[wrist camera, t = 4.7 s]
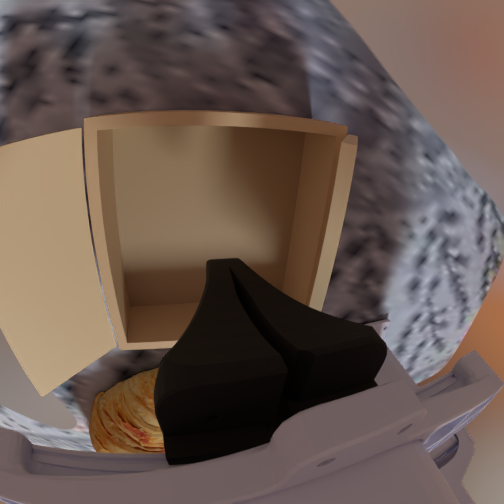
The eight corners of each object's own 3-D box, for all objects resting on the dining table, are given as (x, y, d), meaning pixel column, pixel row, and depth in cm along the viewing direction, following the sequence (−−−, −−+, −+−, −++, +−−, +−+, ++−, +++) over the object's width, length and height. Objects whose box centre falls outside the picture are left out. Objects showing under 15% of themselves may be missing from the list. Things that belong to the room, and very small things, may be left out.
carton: (285, 296, 22) (305, 332, 19) (124, 308, 19) (119, 350, 16) (312, 118, 16) (348, 126, 13) (104, 114, 13) (83, 118, 10)
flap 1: (41, 397, 11) (38, 391, 11) (116, 346, 16) (111, 341, 16) (-49, 163, 5) (-48, 162, 5) (81, 127, 10) (76, 127, 10)
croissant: (147, 314, 24) (98, 361, 16) (242, 379, 24) (223, 444, 17) (93, 420, 30) (63, 457, 22) (156, 463, 30) (135, 505, 22)
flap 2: (307, 328, 19) (314, 330, 19) (283, 398, 14) (292, 401, 14) (347, 134, 13) (357, 136, 13) (341, 142, 8) (357, 145, 8)
